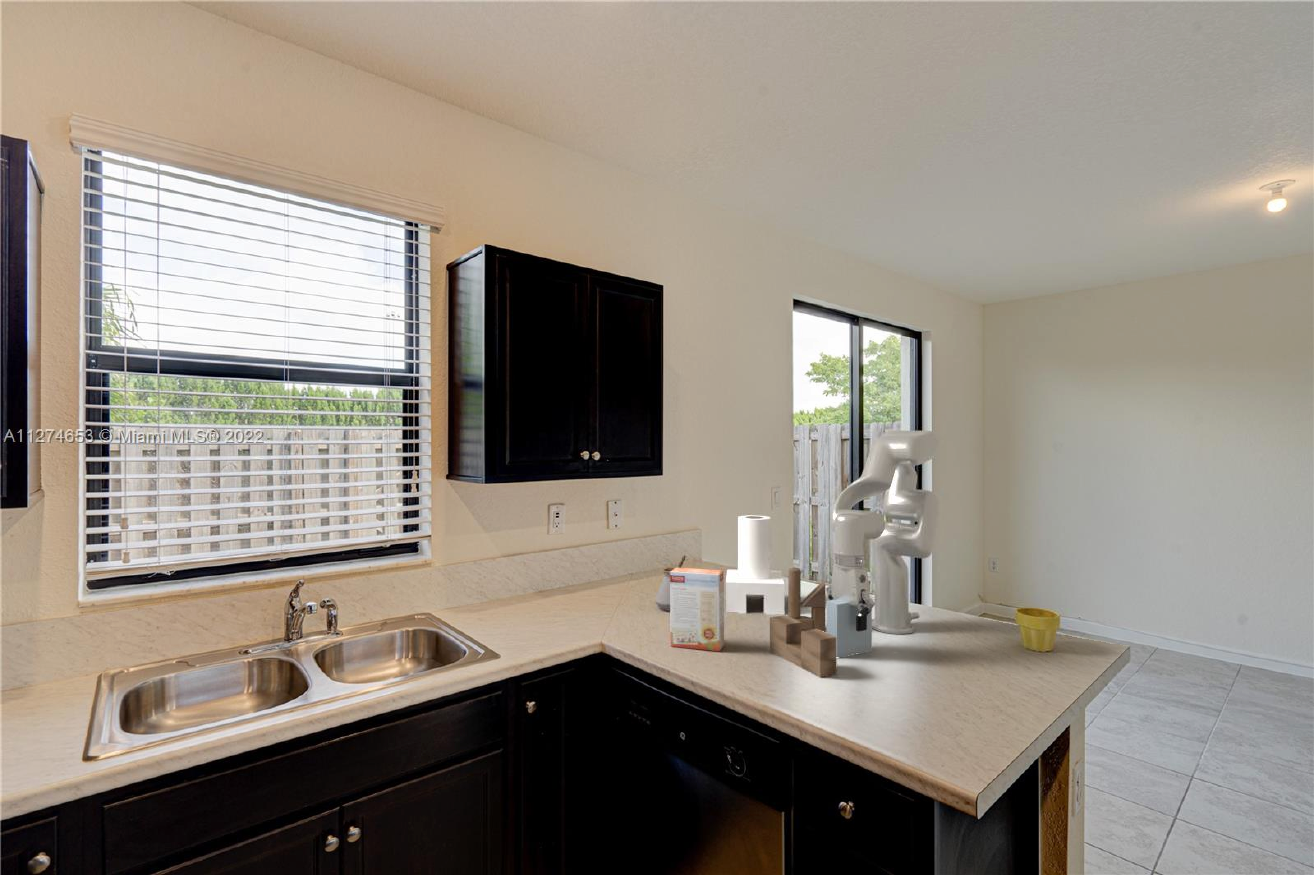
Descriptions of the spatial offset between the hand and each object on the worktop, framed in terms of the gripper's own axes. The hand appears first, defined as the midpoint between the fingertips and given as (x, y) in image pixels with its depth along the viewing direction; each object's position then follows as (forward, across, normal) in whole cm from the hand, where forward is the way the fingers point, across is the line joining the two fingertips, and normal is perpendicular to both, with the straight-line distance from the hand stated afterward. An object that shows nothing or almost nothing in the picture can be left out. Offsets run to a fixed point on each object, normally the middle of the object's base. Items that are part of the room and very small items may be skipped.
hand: (849, 625), depth 164 cm
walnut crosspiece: (+7, 0, +16) cm, 17 cm away
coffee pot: (+7, +61, +20) cm, 65 cm away
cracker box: (+7, +22, +34) cm, 41 cm away
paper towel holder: (+7, +48, -3) cm, 49 cm away
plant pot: (+7, -20, -48) cm, 53 cm away
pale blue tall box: (+7, 0, 0) cm, 7 cm away
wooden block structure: (+7, +20, -2) cm, 21 cm away
